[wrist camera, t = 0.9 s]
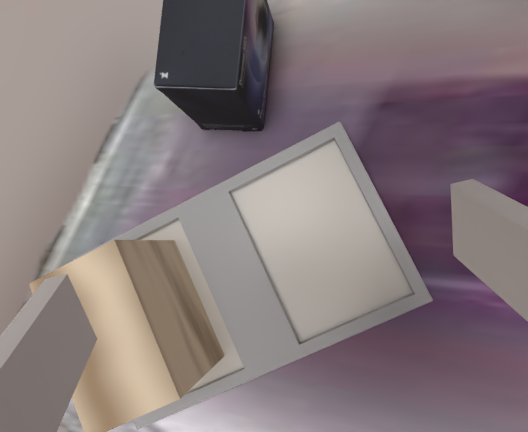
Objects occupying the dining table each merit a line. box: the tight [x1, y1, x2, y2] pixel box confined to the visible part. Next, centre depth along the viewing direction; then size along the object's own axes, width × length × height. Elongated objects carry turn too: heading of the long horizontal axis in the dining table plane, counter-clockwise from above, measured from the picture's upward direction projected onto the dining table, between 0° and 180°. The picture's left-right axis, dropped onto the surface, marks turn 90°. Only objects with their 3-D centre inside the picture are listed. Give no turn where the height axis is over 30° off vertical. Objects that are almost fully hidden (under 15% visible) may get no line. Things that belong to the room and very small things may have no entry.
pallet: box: [71, 121, 433, 429], centre depth 36 cm, size 27×16×2 cm, turn 115°
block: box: [29, 240, 225, 432], centre depth 32 cm, size 7×11×10 cm, turn 25°
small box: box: [154, 0, 274, 131], centre depth 34 cm, size 11×6×10 cm, turn 175°
